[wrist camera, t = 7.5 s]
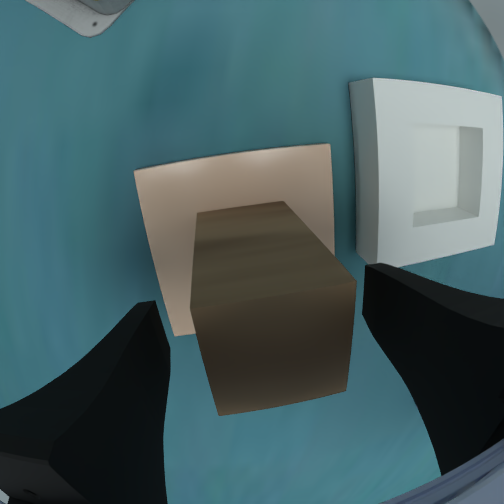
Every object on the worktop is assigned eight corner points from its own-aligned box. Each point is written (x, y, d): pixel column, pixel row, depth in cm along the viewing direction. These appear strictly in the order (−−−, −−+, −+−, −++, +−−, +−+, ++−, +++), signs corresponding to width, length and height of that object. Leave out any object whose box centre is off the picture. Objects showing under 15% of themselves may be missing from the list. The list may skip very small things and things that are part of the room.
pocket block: (469, 230, 18) (494, 244, 16) (355, 252, 17) (376, 271, 15) (473, 94, 14) (501, 96, 12) (348, 82, 14) (372, 77, 11)
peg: (288, 277, 16) (345, 390, 9) (210, 289, 16) (218, 416, 9) (283, 200, 15) (356, 280, 8) (196, 212, 14) (189, 308, 7)
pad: (330, 303, 18) (334, 308, 18) (175, 329, 17) (174, 336, 17) (325, 142, 15) (330, 144, 14) (136, 169, 14) (133, 171, 13)
